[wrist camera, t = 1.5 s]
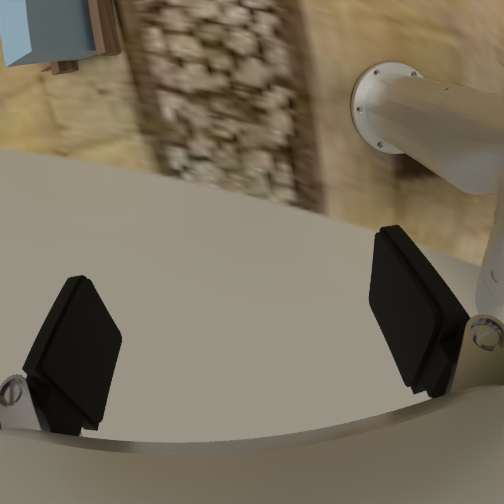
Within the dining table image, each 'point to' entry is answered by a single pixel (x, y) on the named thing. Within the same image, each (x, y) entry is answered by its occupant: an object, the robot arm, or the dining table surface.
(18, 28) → the tall sheet
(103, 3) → the walnut rack
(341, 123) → the dining table surface
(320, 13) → the dining table surface
